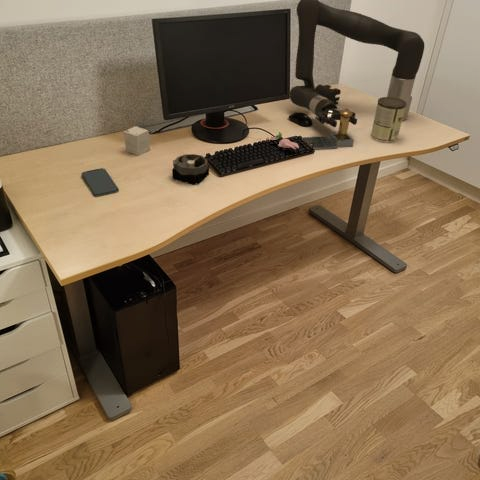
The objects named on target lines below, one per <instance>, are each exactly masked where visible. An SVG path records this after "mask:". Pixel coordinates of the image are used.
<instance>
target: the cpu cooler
mask: <svg viewBox="0 0 480 480" xmlns="http://www.w3.org/2000/svg"><path fill="white" fill-rule="evenodd" d="M172 164H173V165H172V166H173V168H171V171H172V173H171V174H172V175H171V176H172V179H173V180H174V181H177V182H182V183H186V184H189V185H200V184H201V183H202V182H203V181H204V180H205V179H206V178H207V177H208V176H209V174H210V165H208V159H207V158H205V157H204V156H203V155H201V154H192V153H191V154H190V153H189V154H186V153H185V154H183V155H180V156H177V157H176V158H175V159H173V160H172Z"/></svg>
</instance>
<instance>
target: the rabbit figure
mask: <svg viewBox="0 0 480 480" xmlns="http://www.w3.org/2000/svg"><path fill="white" fill-rule="evenodd" d="M282 137H283V133H282V132H281V131H278V134H277V135H276V136H272V135H271V136H270V138H269V137H266V139H265V141H266V140H267V141H268V140H277V139H280V138H281V140H279V141H280V142H279V144H278V145H277V147H278V146H279V147H283V148H288V149H290V148H291V149H293V150H296V149H300V147H299V144H298V143H297V142H293V141H291V140H289V139H288V138H282ZM279 147H278V148H279Z"/></svg>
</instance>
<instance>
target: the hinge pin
mask: <svg viewBox="0 0 480 480" xmlns="http://www.w3.org/2000/svg"><path fill="white" fill-rule="evenodd" d="M339 110H340V115H341V119H340V120H339V125H338V126H339V127H338V132H337V133H338V136H337V139H338V140H345V139H346V136H347V134H348V130H349V123H350V122H349V120H350V116H352V113H353V111H352V110H350V109H348V110H345V109H339Z"/></svg>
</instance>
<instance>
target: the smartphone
mask: <svg viewBox="0 0 480 480" xmlns="http://www.w3.org/2000/svg"><path fill="white" fill-rule="evenodd" d="M81 177H82V179H83V180H84V183H85V185H86V186H87V187H88V189H89V191H90V192H91V194H92V196H93V197H94V198H99V197H104V196H108V195H112V194H116V193H119V192H120V189H119V187H118V186H117V183H115V182H114V180H113V179H112V177H111V176H110V173H108V171H107V170H106V168H102V167H101V168H96V169H95V168H94V169H90V170H86V171H83V172H81Z"/></svg>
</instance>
